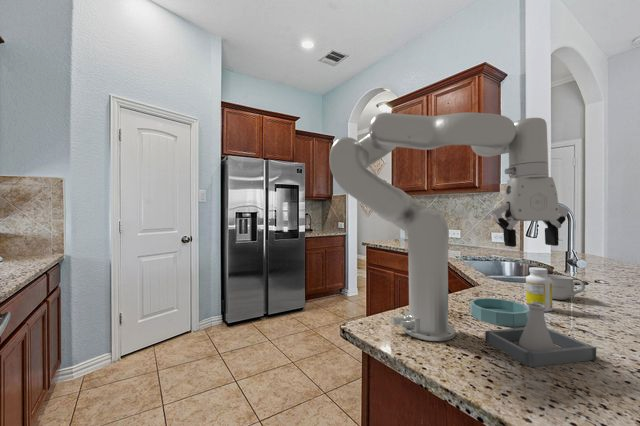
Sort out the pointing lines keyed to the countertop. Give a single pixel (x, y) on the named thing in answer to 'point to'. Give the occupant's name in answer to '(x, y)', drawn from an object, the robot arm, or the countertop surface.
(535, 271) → the supplement bottle
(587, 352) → the parts tray
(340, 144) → the robot arm
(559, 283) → the teacup
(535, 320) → the flask
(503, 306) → the bowl
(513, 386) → the countertop surface
